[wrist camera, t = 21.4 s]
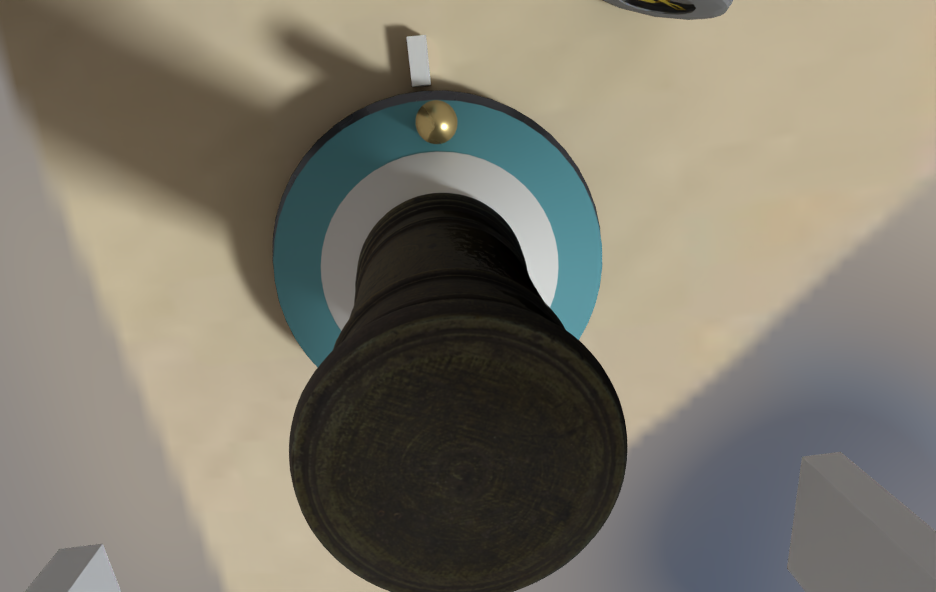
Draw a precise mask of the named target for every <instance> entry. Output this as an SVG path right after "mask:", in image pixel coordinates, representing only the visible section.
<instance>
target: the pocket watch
mask: <svg viewBox="0 0 936 592" xmlns="http://www.w3.org/2000/svg"><path fill="white" fill-rule="evenodd" d="M603 1H606V2H608V3H610V4H612V5H614V6H617V7H619V8H622V9H626V10H630V11H634V12H638V13H642V14H646V15H650V16H654V17H664V18H675V19H686V20H693V19H707V18H714V17H717V16H720V15H722V14H724V13H725V12H726V11H727V9H728V8H729V6H730V5H731V4H732V1H733V0H603Z"/></svg>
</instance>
